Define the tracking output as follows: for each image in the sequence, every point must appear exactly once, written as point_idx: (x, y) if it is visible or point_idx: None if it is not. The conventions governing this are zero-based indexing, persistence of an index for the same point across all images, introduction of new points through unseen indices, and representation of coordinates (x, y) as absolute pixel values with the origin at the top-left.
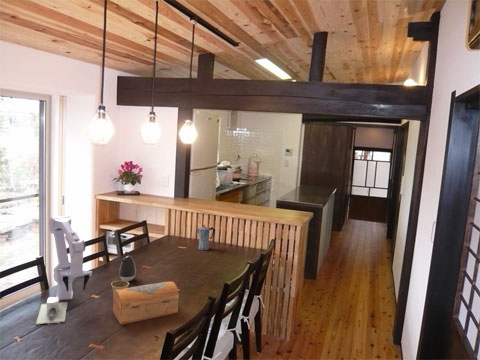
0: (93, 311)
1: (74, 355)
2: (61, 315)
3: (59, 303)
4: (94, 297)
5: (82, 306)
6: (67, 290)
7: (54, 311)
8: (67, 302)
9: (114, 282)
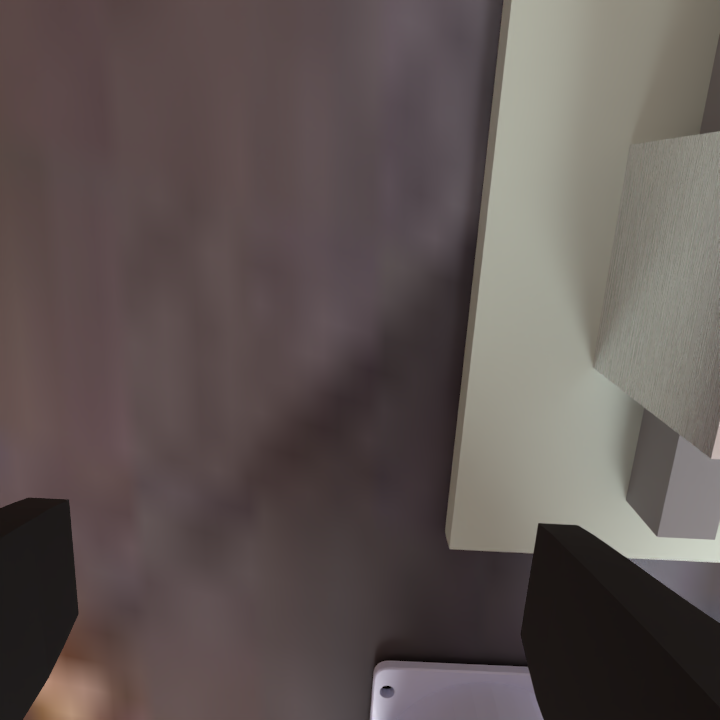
0: (24, 146)
1: None
2: (580, 42)
3: None
4: None
5: (220, 389)
6: (574, 535)
7: None
8: (448, 543)
9: None
